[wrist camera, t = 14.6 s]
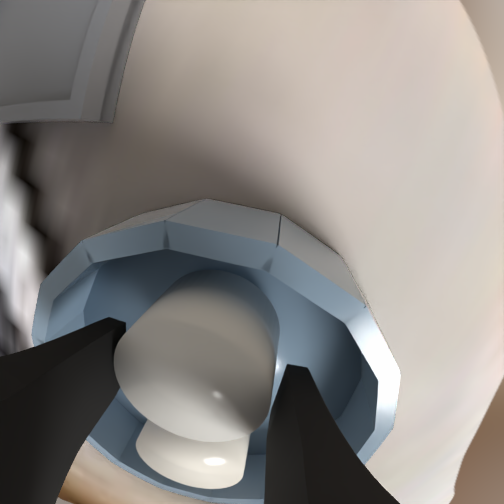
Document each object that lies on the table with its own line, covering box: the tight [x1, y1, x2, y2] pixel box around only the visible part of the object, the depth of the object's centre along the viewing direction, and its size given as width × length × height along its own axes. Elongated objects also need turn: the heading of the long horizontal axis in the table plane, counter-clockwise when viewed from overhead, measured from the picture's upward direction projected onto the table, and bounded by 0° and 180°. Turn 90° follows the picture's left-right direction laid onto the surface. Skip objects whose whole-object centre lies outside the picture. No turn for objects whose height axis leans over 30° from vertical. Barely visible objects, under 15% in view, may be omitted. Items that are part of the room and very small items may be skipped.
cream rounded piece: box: [114, 270, 280, 442], centre depth 9 cm, size 4×4×3 cm
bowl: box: [32, 199, 400, 504], centre depth 11 cm, size 14×14×4 cm
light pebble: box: [136, 419, 251, 489], centre depth 11 cm, size 4×4×3 cm
